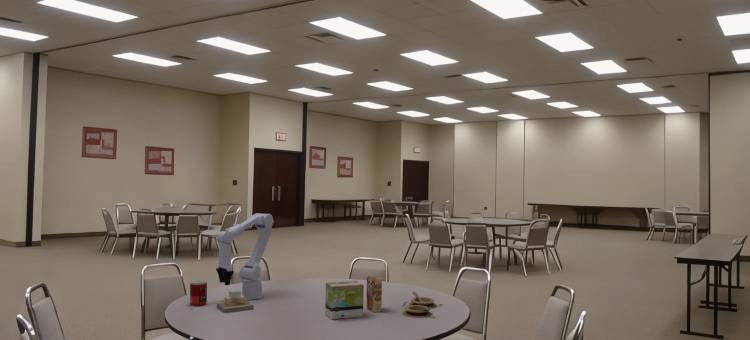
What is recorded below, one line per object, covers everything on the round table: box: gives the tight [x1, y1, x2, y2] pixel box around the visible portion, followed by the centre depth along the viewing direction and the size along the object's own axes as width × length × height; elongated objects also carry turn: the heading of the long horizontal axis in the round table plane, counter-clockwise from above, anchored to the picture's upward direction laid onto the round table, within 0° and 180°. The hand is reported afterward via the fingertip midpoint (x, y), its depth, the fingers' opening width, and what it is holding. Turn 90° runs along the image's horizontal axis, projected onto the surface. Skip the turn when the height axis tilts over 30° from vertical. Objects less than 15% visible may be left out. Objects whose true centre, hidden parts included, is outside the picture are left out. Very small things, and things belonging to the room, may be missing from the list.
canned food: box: [189, 279, 208, 307], centre depth 276 cm, size 8×8×11 cm
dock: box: [216, 300, 255, 314], centre depth 268 cm, size 14×12×2 cm
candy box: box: [365, 275, 383, 313], centre depth 267 cm, size 9×4×15 cm, turn 26°
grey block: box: [228, 289, 242, 298], centre depth 268 cm, size 4×4×3 cm
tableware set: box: [401, 291, 444, 319], centre depth 268 cm, size 30×20×6 cm, turn 167°
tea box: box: [324, 280, 365, 320], centre depth 256 cm, size 15×10×15 cm, turn 114°
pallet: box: [224, 294, 245, 306], centre depth 268 cm, size 8×5×4 cm, turn 122°
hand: (224, 283), depth 277 cm, fingers open, 7 cm apart
